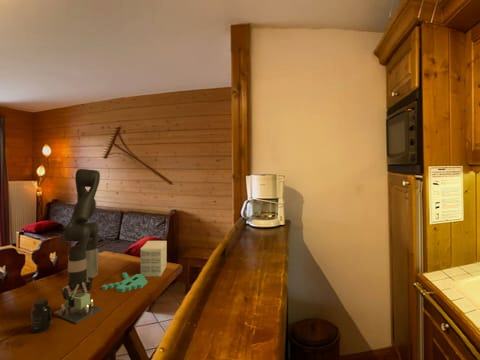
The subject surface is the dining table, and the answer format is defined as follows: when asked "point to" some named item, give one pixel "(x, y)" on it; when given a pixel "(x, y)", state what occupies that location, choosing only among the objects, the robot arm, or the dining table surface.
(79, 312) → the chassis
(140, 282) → the alien figure
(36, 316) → the supplement bottle
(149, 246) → the supplement box
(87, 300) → the block
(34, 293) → the dining table surface
